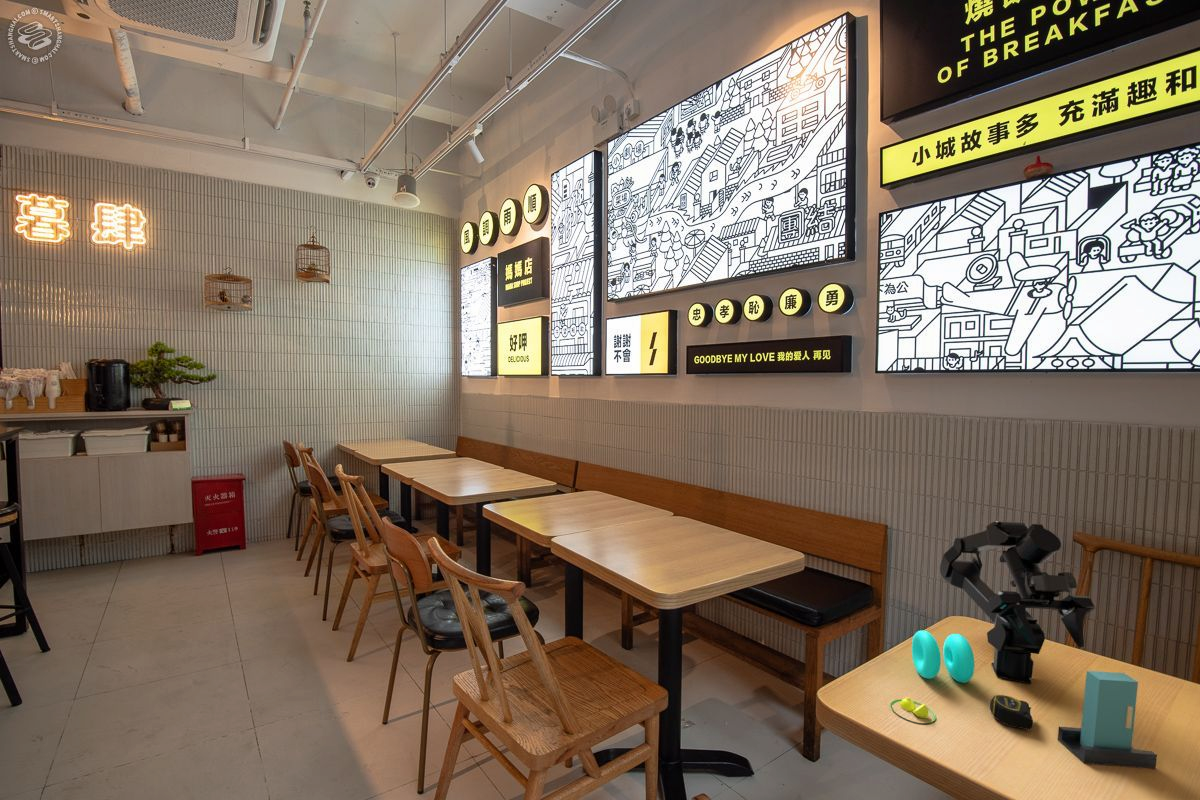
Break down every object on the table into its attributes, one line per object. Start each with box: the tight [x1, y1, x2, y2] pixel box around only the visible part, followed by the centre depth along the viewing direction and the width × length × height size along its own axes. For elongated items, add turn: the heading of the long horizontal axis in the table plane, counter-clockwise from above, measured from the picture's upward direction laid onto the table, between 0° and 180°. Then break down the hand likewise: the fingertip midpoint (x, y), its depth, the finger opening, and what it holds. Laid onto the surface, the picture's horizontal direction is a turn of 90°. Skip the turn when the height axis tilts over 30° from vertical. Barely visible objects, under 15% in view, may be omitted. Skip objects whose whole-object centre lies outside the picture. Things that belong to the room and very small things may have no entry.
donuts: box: [911, 630, 975, 683], centre depth 130 cm, size 10×10×10 cm
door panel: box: [1080, 670, 1139, 749], centre depth 105 cm, size 3×6×14 cm, turn 86°
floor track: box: [1057, 726, 1158, 770], centre depth 105 cm, size 6×12×3 cm, turn 86°
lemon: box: [890, 696, 937, 724], centre depth 116 cm, size 8×8×3 cm
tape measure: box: [989, 694, 1034, 730], centre depth 115 cm, size 7×7×4 cm
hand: (1057, 645), depth 118 cm, fingers open, 9 cm apart
